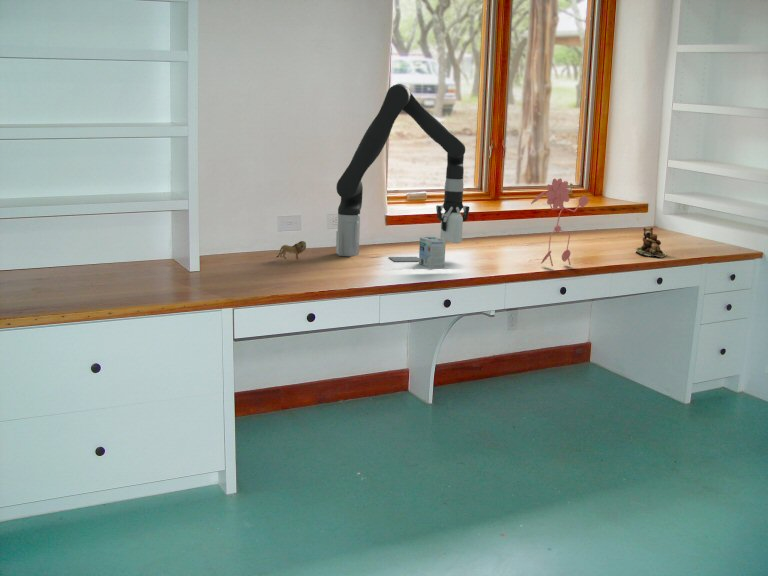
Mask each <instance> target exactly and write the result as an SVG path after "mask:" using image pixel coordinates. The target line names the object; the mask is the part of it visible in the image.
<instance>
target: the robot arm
mask: <svg viewBox="0 0 768 576" xmlns="http://www.w3.org/2000/svg"><path fill="white" fill-rule="evenodd" d="M402 111H403V112H405V113H406V114H407V115H408V116H409V117H411V118H412V119H413V120H414V121H415V122H416V124H417V125H418V126H419V128H421V129H422V130H423V132H424V133H425V134H426V135H428V137H429V138H431V140H432V141H434V142H435V143H437V144H438V145H439V146H440V147H441V148H442V149H443V150H444V151H445V152H446V160H447V161H446V162H447V165H446V171H445V182H444V195H443V204H442V205H441V204H440V205H438V204H437V205H436V207H435V208H436V209H435V210H436V217H437V220H439V221H440V222H441V221H442V227H441V226H440V229H441V228H442V229H443V231H446V220H447V218H448V217H449V215H450V214H451V213H458V214H460V215H461V216H462V217H463V222H466V221H467V220H468V216H469V212H470V206H468V205H464V204H463V199H464V198H463V197H464V174H465V173H464V172H465V171H464V170H465V168H464V161H465V159H464V156H465V153H466V146H465V144H464V142H462V140H460V139H458V138H457V137H456V136H455V134H453V133H452V132H451V131H449V129H448V128H447V127H446V126H445V125H444V124H443V123H442V122H441V121H439V119H437V118H436V116H434V115H433V114H431V112H429V111H428V110H427V109H426V108H425V107H424V106H422V104H421V103H420V102H419V101H418V100H417V99H416V97H415V96H414V94H413V93H412V92H411V90H410V89H409V88H408V86H406V85H404V84H402V83H396V84H393V85H392V86H390V87H389V88H388V90H387V92H386V95H385V97H384V100H383V101H382V105H381V106H380V109H379V110H378V112H377V115H375V118H374V119H373V120H372V121H371V123H370V125H369V126H368V128H367V129H366V131H365V133H364V135H363V136H362V139H361V140H360V142H359V144H358V146H357V148H356V150H355V153H353V156H352V159H351V161H350V162H349V165H348V166H347V167H346V169H345V170H344V172H343V173H342V175H341V176H340V178H339V179H338V181H337V182H336V192H337V194H338V196H340V203H339V206H338V208H337V231H336V232H335V233H336V234H335V236H336V237H335V244H336V245H335V254H336V255H337V256H339V257H356V256H360V234H361V231H360V229H361V228H360V227H361V210H362V209H361V208H362V205H363V182H362V179H363V177H364V175H365V173H366V172H367V170H368V169H369V168H370V167H371V165H372V164H373V163H375V161H376V160H377V159H378V157H379V156H380V154H381V153H382V150H383V149H384V147H385V145H386V144H387V141H388V139H389V137H390V134H391V131H392V129H393V127H394V126H393V125H394V124H395V122H396V120H397V118H398V117H399V115H400V114H401V112H402ZM443 210H444V212H443V213H444V215H443V217H442V214H443V213H442V211H443ZM461 211H463V214H462V213H461Z"/></svg>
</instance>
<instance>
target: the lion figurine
mask: <svg viewBox="0 0 768 576" xmlns="http://www.w3.org/2000/svg"><path fill="white" fill-rule="evenodd" d="M306 249H307V242H306V241H304V240H300V241H299V242H296V243H295V244H293V245H288V244H284V245H282V246H281V247H280V248H279V252H278V255H276V258H278V257H279V258H280V259H281V258H282V259H284V260H287V259H288V258H287V257H286V253H289V254H295V259H296V260H297V261H298V260H300V259H299V254H302V253H303V252H304V251H306Z"/></svg>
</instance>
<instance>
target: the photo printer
mask: <svg viewBox="0 0 768 576" xmlns="http://www.w3.org/2000/svg"><path fill="white" fill-rule="evenodd" d="M441 214H442V217H443V215H444V212H443V213H441ZM463 225H464V221H463V215H462V214H461V215H460V214H458V213H451V214H450V215H449V217H448V218H447V220H446V231H443V229H442V228H441V227H442V221H441V220H440V237H439V239H443V240H446V243H447V242H448V243H452V244H453V243H454V244H461V243H462V241H463V229H464V227H463Z"/></svg>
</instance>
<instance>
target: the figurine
mask: <svg viewBox="0 0 768 576" xmlns="http://www.w3.org/2000/svg"><path fill="white" fill-rule="evenodd" d="M562 179H563V178H560V177H559V178H558V179H557V178H553V179H552V181H551V184H547V185H546V188H547V190H544V191H542V192H541V193H540V194H538V195H537V196H536V197H535V198H534V199H533V200H532V202H530V204H531V205H532V204H534V203H536V202H537V201H539V200H540V199H541V198H543V196H544V195H545V196H546V199H547V200H546V203H547V205H549V207H550V209H551V211H554V210H560V209H561V210H560V212H559V214H558V217H557V222H556V225H555V226H554V228H553V231H552V232H551V234H550V236H549V240H548V241H549V243H548V252H547V253H546V254H545V256H544V257H543V258H540V259H539V258H537V259H535V261H536V260H537V261H539V260H542V261H540V262H541V263H540V264H542V265H543V263H544V262H545V261H546V260H548V259H549V260H550V264H551V267H554V264H553V260H552V255H551V253H552V250H550V249H551V239H552V238H551V237H552V236H553V234H554V232H557V233H559V232H560V231H561V232H563V233H564V234H566V235H568V240H567V245H566V249H565V250H564V251H563V253H562V254H561V260H562V261H563V262H565V263H566V261H568V265H569V266H570V265H571V261H570V256H571V250H570V249H568V248H569V243H570V237H571V234H570V233H568V232H566V231H565V230H562V227H561V226H560V225H559V222H560V217H561V213H562V211H563V210H564V209H565V210H567V211H570V212H573V213H575V212H576V211H577V210H578V208H579V207H581V208H585V206H586V205H587V204H588V203H589V198H588V196H586V195H585V194H584V195H582V196H581V197H580V198H579V199H578V204H577V206H576V208H575V209H574V210H573V209H570V208H568V207H565V206H564V202H565V203H568V202H569V201H570V197H569V194H570V190H569V188H568V185H569V182H568V181H567V180H564V181H563V180H562ZM532 261H533V259H532V260H529V261H528V262H532ZM580 264H581V265H583V263H582V262H580Z"/></svg>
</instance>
